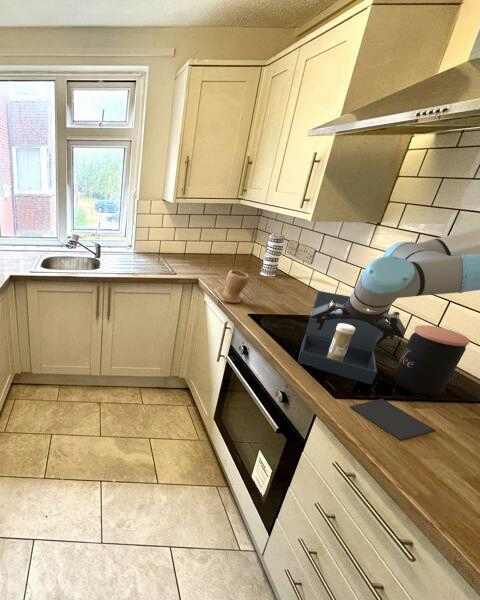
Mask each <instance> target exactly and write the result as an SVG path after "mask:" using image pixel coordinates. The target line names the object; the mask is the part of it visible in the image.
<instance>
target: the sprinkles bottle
mask: <svg viewBox="0 0 480 600" xmlns="http://www.w3.org/2000/svg"><path fill="white" fill-rule="evenodd" d="M354 331H355V327H354V326H352V325H349V324H344V323H339V324H338V325H337V328H336V333H335V335H334V337H333V340H331V341H332V343H331V346H330V348H329V352H328V355H327V358H330V359H334V360H338V361H341V362H342V361H343V359H344V356H345V354H346V351H347V349H348V346H349V345H350V344H349V343H350V340H351V337H352V335H353V334H354Z"/></svg>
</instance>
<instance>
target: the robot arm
mask: <svg viewBox="0 0 480 600" xmlns="http://www.w3.org/2000/svg"><path fill="white" fill-rule="evenodd" d="M474 291H475V292H476V291H480V227H478V228H473V229H470V230H465V231H462V232H458V233H454V234H450V235H446V236H445V235H444V236H441V237H437V238H433V239H429V240H425V241H424V240H423V241H420V242H413V241H401V242H395V243H394V244H392V245H391V246H389V247H388V248H387V249H386V250H385V252H384V253H383V256H381V257H378V258H376V259H374V260H372V261H370V263H369V264H368V265H367V266H366V267H365V269H363V272H362V273H361V274H360V277H359V279H358V281H357V283H356V285H355V287H354V289H353V291H352V292H351V294H350V295H349V296H350V298H349V299H348V301H347V303H346V304H343V305H341V304H338V303H337V301H336V300H331V302H330V303H328V304H325V305H323V306H320V307H317V308H315V309H313V308H312V309H311V312H310V315H309V318H310V317H311V318H317V319H316V323H319V327H318V330H321V328H322V326H323V324H324V322H325V320H331V319H339V318H341V319H356V320H361V321H365V322H368V323H369V324H370V325H372V326H376V327H377V328H378V329H380V330H381V332H380V333H379V334H378V335H377V339H376V343H375V344H377V345H380V344H382V342H383V341H384V340H393V339H394V338H395V336H396V337H397V338H399V339H404V338H405V335H406V327H405V325H404V324H403V322H402V320H401V319H400V312H398V311H393V312H392V313H388V314H387V313H385V312H386V311H387V309H388V308H389V307H390V306H391V307H392V305H393V304H394V302H395V301H396V300H397V299H401V298H402V299H403V298H413V297H420V296H432V295H433V296H434V295H435V296H436V295H446V294H463V293H467V292H474ZM391 304H392V305H391ZM391 307H390V308H391ZM383 318H386V320H385V319H383Z"/></svg>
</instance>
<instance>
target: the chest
mask: <svg viewBox="0 0 480 600" xmlns="http://www.w3.org/2000/svg"><path fill="white" fill-rule="evenodd" d="M331 343H332V340H331V339H327V338H323V337H319V336H315V335H311V334H307V333H305V334H304V337H303V339H302V343H301V346H300V350H299V354H298V358H297V364H301V365H303V364H305V365H304V366H307V365H308V366H307V367H310V366H312V367H311V368H313V367H314V368H313V369H317V370H320V371H323V372H327V373H330V374H334V375H337V376H340V377H344V378H347V379H351V380H353V381H358V382H360V383H364V384H367V385H372V386H373V383H374V381H375V378H376V375H377V374H378V368H377V363H376V356H375V350H371V349H367V348H363V347H359V346H355V345H351V344H349V346H348V349H347V351H346V354H345V356H344V359H343V361H342V362H341V361H338V360H334V359H330V358H327V355H328V352H329V348H330V346H331Z"/></svg>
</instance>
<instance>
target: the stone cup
mask: <svg viewBox="0 0 480 600" xmlns="http://www.w3.org/2000/svg"><path fill="white" fill-rule="evenodd" d="M249 281H250V275H249V274H248V273H246V272H244V271H242V270H239V269H231V270H229V271H228V273H227V275H226V277H225V287H216V288H214V292H215V293H216V295H217V296H218V297H219V298H220V300H222V301H223V302H225V303H230V304H231V303H232V304H240V303H241V302H242V299H241V297H240V294H241V293H242V291H243V290H244V289H245V288H246V286H247V284H248V283H249Z"/></svg>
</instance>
